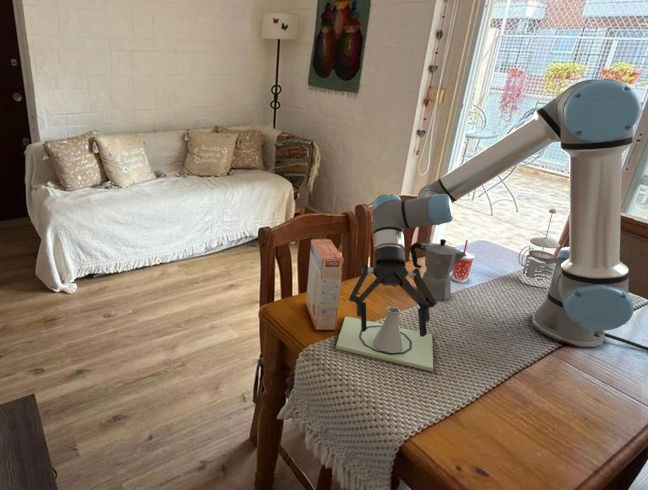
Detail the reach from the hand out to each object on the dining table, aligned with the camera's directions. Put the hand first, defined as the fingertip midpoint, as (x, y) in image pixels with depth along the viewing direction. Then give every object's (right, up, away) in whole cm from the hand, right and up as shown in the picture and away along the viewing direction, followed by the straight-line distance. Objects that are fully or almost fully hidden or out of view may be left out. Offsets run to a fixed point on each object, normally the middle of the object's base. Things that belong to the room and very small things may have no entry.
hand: (393, 333), depth 104 cm
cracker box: (-14, 0, +18) cm, 23 cm away
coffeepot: (+24, +4, +32) cm, 40 cm away
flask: (0, -4, +4) cm, 6 cm away
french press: (+61, +6, +40) cm, 73 cm away
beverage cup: (+37, +7, +41) cm, 56 cm away
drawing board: (0, -4, +7) cm, 8 cm away
